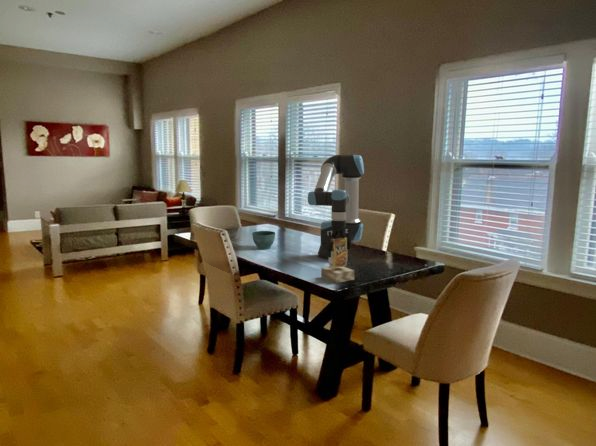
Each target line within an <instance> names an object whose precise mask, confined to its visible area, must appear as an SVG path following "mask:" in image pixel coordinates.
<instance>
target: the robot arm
mask: <svg viewBox="0 0 596 446" xmlns="http://www.w3.org/2000/svg"><path fill="white" fill-rule="evenodd" d="M364 174H365V167H364V160H363V157H362V156H361V155H360V154H359V155H358V154H341V155H340V154H335V155H331V156H330V157H328V158H327V159H326V160H325V161H323V163H322V164H321V167H320V174H319V177H318V180H317V182H316V184H315V188H314V190H313V191H309V192H308V193H307V203H308V205H310V206H315V207H316V206H319V207H320V206H324V207H325V206H327V207H328V206H329V207H331V210H330V211H331V212H330V213H331V214H330V215H331V219H330V220H324V221H322V222H321V223H320V245H319V248H318V252H317V257H318V258H320V259H328V263H330V264H333V251H332V248H333V242H330V241H331V239H337V238H339V237H341V238H347V256H349V250H350V249H351V248H352V242H353V243H354V242H356V243H357V242H358V243H359V242H361V239H362V237H363V236H362V235H363V232H364V231H363V230H364V223H361V221H362V219H360V218H359V199H360V197H359V194H360V193H359V192H360V191H359V187H360V185H359V182H360V179H361V178H362V175H364ZM336 175H341V178H342V179H343V180H344V189H333V190H332V191H329V189H330V186H331V183H332V181H333V178H334V177H335V176H336Z"/></svg>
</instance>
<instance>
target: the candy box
mask: <svg viewBox="0 0 596 446" xmlns="http://www.w3.org/2000/svg"><path fill="white" fill-rule="evenodd" d="M330 242H333V248H332V251H333V264H330V263H329V265H328V267H332V268H337V267H343V266H344V267H347V262H348V255H347V238H341V237H339V238H337V239H331V241H330Z"/></svg>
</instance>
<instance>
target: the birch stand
mask: <svg viewBox="0 0 596 446" xmlns="http://www.w3.org/2000/svg"><path fill="white" fill-rule="evenodd" d="M320 272H321V278H322V279H325V280H328V281H330V282H332V283H334V284H335V283H336V284H338V283H339V284H340V283H344V282H349V281H354V280H355V274H356V273H355V269H352V268H349V267H347V266H343V267H337V268H332V267H329V266H326V267H321V271H320Z"/></svg>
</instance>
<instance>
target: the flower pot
mask: <svg viewBox="0 0 596 446" xmlns="http://www.w3.org/2000/svg"><path fill="white" fill-rule="evenodd" d="M251 235H252V241H253V243H254V244H255V246H256V248H257V249H258V250H269V249H271V248H272V246H273V244H274V242H275V238H276V232H275V231H271V230H259V231H257V230H256V231H252V232H251Z"/></svg>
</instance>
